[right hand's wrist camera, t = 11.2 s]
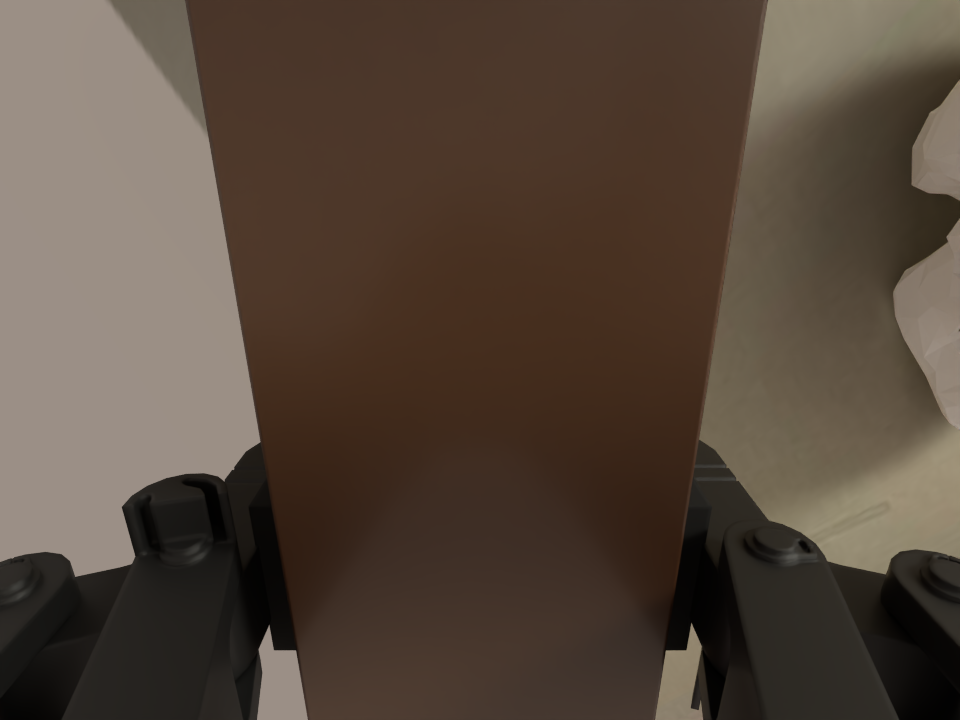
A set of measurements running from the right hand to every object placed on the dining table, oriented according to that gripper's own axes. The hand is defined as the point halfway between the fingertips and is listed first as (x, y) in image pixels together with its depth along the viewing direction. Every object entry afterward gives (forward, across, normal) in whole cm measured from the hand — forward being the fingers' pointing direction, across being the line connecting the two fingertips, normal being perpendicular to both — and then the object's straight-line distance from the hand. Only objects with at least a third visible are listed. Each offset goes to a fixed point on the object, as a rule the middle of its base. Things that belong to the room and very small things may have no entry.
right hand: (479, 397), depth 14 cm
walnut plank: (+1, 0, +9) cm, 9 cm away
